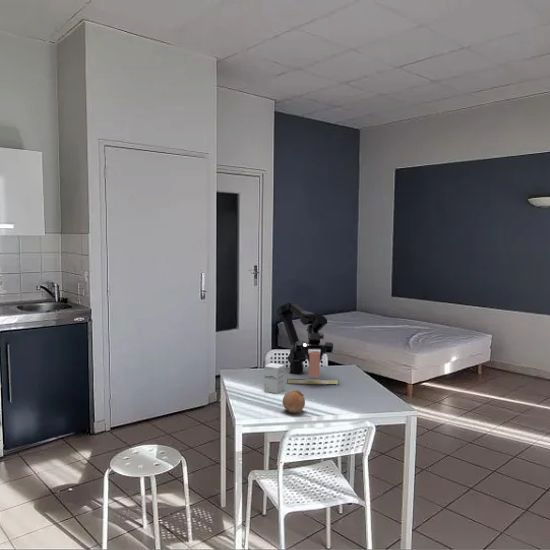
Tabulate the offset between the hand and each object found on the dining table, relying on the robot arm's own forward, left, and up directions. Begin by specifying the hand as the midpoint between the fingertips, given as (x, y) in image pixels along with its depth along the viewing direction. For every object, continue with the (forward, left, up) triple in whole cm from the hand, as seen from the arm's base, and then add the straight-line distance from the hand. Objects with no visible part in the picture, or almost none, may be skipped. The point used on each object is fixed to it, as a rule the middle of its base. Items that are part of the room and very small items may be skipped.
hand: (314, 361), depth 252 cm
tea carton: (0, +1, -8) cm, 8 cm away
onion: (-4, -37, -13) cm, 39 cm away
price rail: (-1, +6, -13) cm, 14 cm away
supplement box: (-18, -11, -13) cm, 25 cm away
